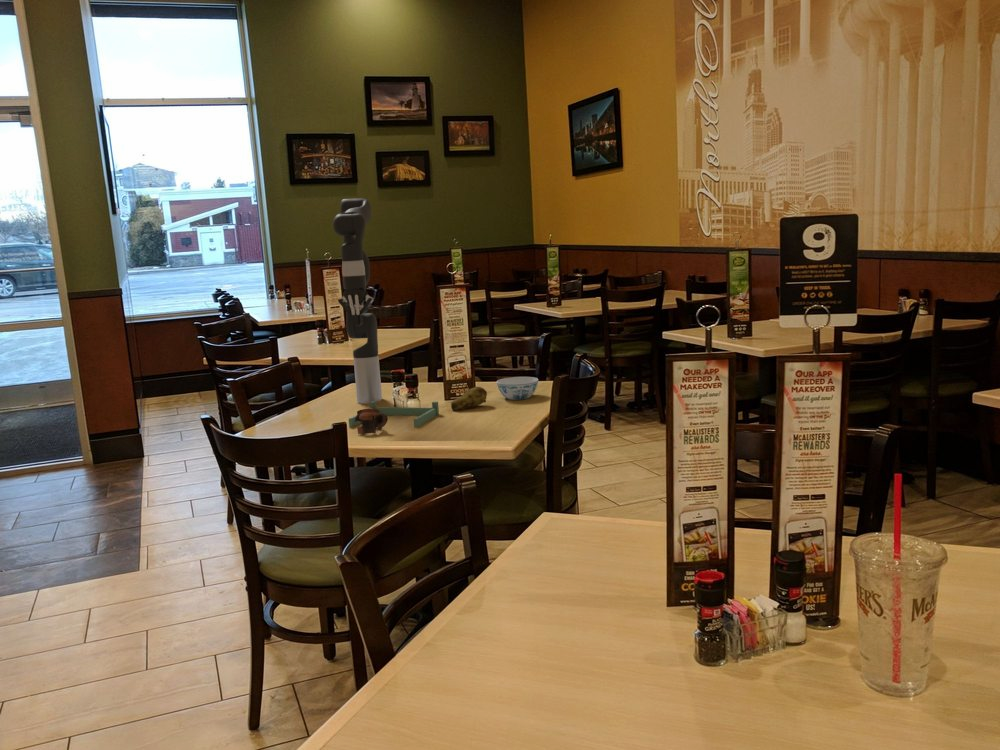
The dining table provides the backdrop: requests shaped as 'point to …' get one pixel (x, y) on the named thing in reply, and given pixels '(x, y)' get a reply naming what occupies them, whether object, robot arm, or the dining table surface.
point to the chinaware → (517, 387)
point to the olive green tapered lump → (469, 399)
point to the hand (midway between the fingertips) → (358, 325)
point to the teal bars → (404, 413)
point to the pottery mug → (370, 420)
